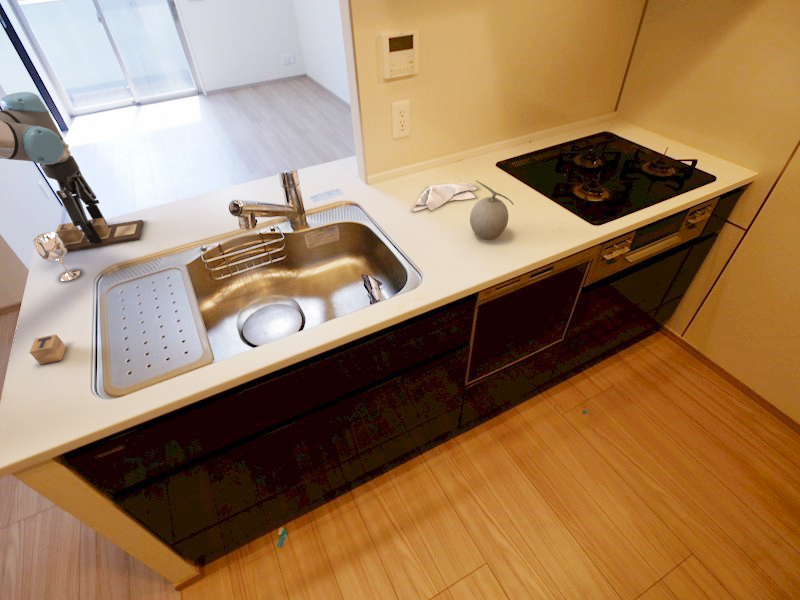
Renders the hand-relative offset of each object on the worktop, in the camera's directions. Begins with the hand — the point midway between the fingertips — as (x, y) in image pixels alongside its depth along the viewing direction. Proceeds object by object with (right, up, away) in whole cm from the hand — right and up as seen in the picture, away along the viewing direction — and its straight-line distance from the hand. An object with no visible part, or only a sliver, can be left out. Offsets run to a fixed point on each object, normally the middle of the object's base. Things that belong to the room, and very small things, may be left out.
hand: (99, 233), depth 124 cm
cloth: (+102, +15, +17) cm, 104 cm away
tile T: (+13, -31, -33) cm, 47 cm away
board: (0, -1, +1) cm, 1 cm away
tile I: (0, 0, 0) cm, 0 cm away
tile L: (-7, -2, -1) cm, 7 cm away
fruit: (+114, -1, 0) cm, 114 cm away
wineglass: (+1, -13, -12) cm, 18 cm away
